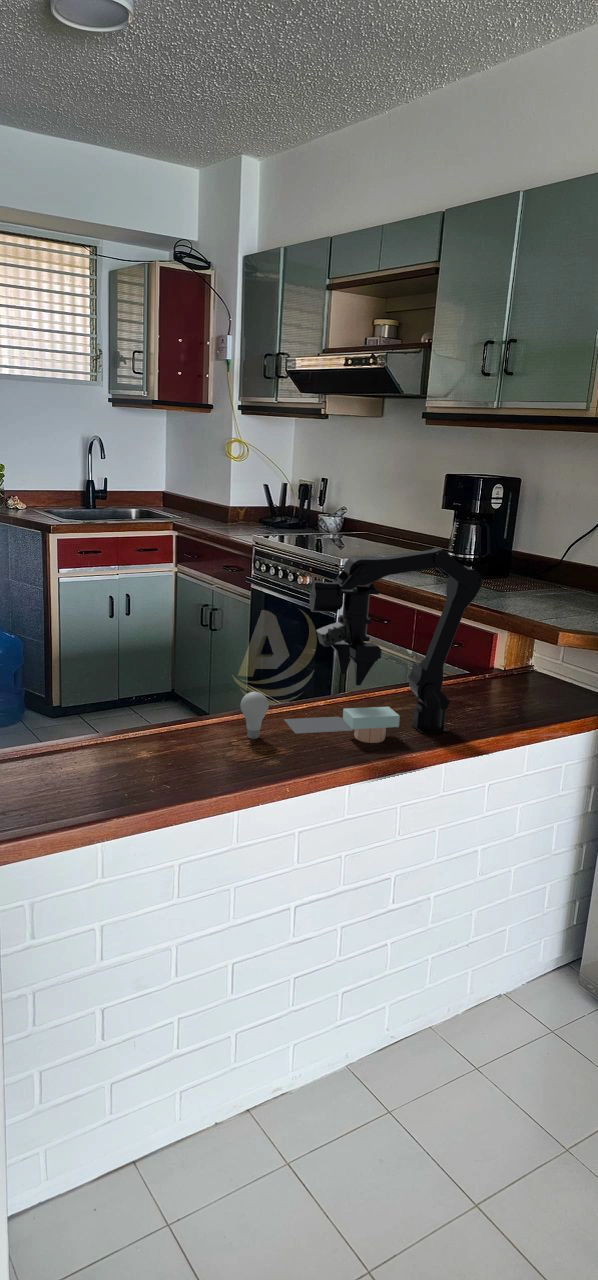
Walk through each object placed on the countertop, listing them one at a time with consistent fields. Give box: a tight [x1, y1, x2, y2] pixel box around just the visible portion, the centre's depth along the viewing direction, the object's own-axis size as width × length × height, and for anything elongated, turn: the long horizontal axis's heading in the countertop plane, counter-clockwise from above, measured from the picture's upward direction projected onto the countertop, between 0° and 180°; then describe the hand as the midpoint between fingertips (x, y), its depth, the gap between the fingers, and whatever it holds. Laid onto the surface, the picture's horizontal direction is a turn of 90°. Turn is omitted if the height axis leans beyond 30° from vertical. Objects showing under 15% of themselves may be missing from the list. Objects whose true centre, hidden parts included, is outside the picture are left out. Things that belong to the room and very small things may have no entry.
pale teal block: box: [342, 706, 401, 730], centre depth 195 cm, size 11×7×3 cm, turn 106°
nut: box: [353, 728, 387, 744], centre depth 196 cm, size 7×7×4 cm
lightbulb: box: [240, 691, 270, 740], centre depth 191 cm, size 6×6×11 cm
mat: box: [283, 716, 355, 735], centre depth 203 cm, size 14×10×1 cm
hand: (350, 679), depth 199 cm, fingers open, 9 cm apart
